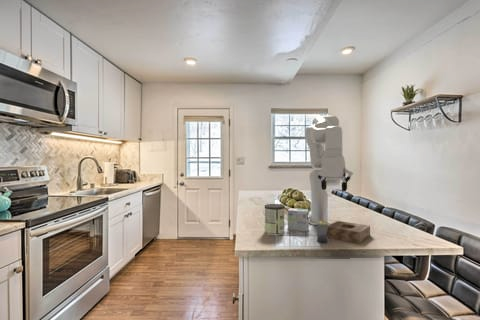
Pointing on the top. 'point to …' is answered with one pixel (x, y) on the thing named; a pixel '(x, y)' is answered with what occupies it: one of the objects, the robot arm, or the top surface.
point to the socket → (348, 231)
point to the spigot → (322, 231)
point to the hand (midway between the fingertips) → (333, 190)
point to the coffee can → (274, 219)
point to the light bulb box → (298, 219)
